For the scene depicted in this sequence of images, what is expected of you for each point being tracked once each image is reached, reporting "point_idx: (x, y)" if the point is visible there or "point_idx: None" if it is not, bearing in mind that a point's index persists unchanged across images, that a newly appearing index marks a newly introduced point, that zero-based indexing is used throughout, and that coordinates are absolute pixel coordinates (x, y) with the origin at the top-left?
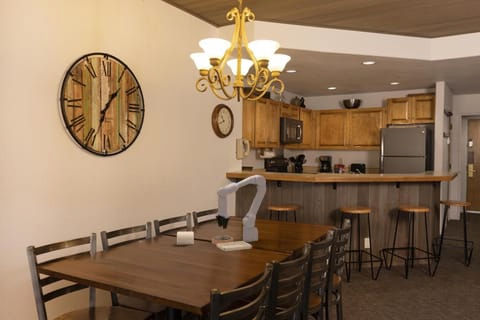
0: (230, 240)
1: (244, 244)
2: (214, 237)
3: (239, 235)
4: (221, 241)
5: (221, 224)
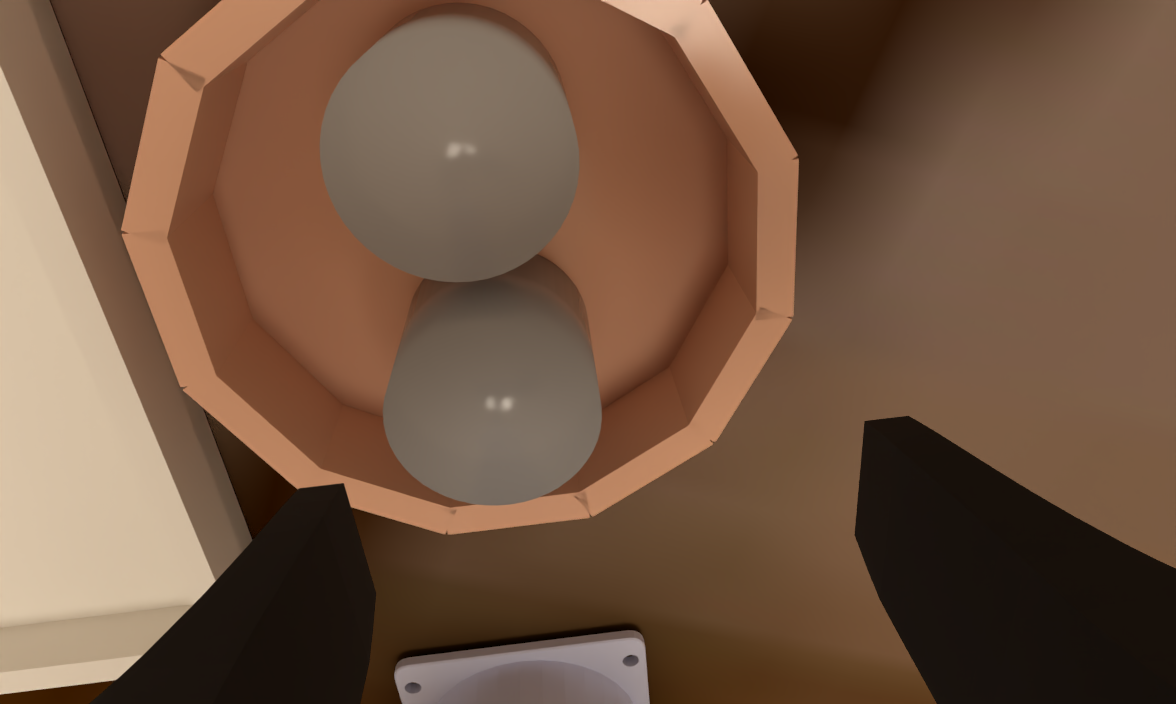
0: (254, 434)
1: (119, 622)
2: (694, 68)
3: None
4: (143, 167)
5: (898, 584)
